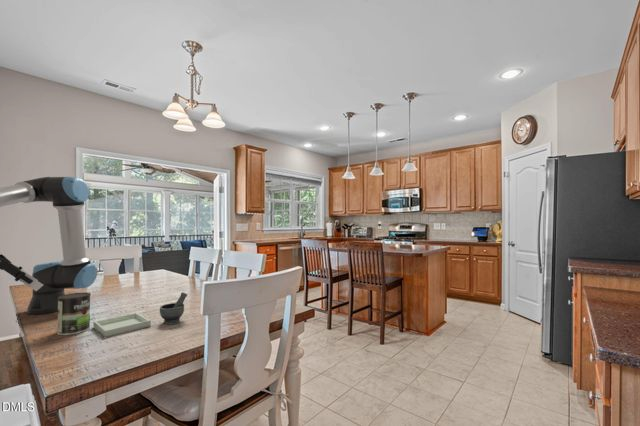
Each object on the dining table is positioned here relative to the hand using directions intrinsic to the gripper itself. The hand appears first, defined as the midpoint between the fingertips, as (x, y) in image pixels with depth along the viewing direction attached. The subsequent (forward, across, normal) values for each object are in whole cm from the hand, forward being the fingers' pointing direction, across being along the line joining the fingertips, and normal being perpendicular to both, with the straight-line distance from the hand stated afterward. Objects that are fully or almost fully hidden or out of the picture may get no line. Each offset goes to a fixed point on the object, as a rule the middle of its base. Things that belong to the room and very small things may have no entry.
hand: (37, 285), depth 114 cm
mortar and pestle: (+44, +18, +16) cm, 50 cm away
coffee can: (+22, -1, -6) cm, 23 cm away
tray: (+32, +9, +4) cm, 33 cm away
